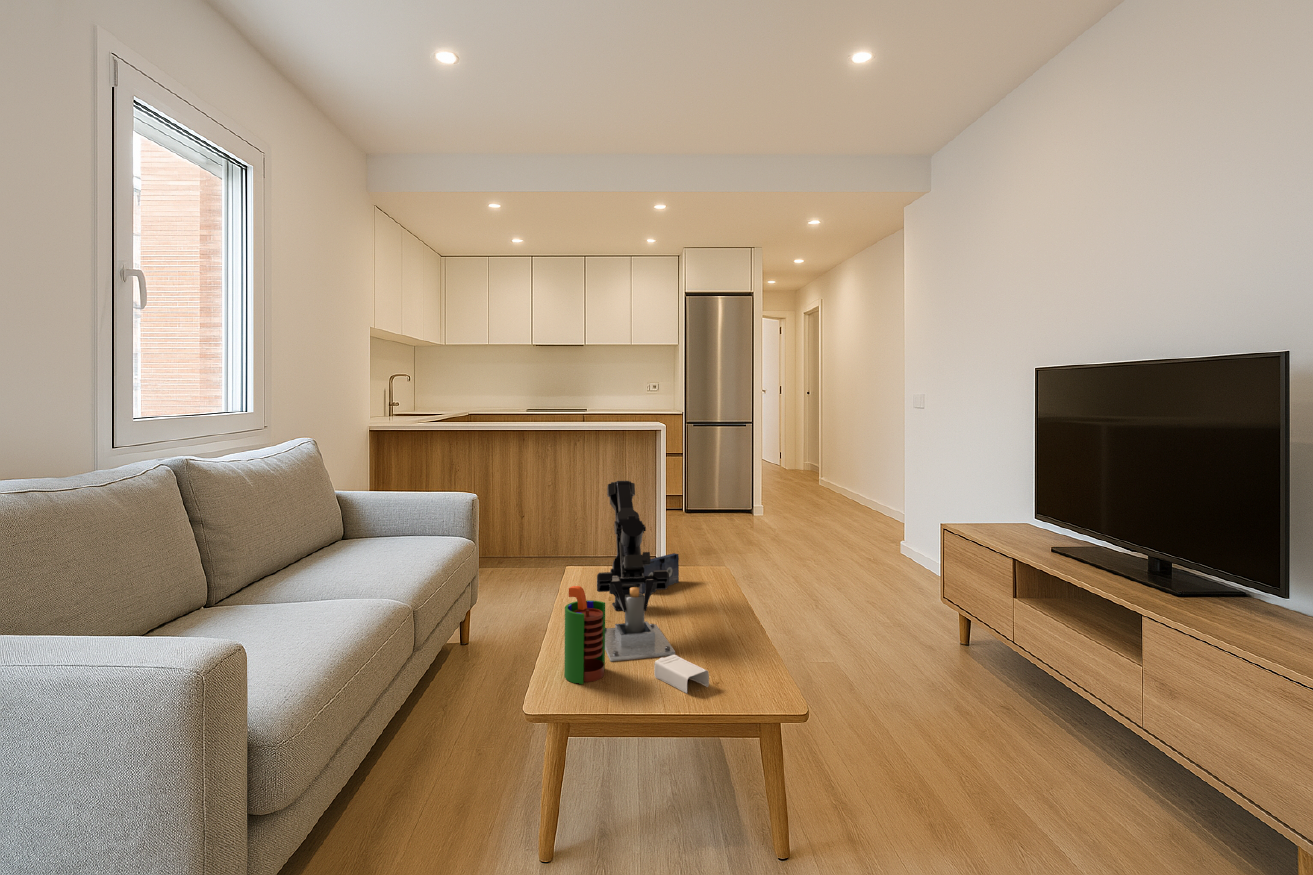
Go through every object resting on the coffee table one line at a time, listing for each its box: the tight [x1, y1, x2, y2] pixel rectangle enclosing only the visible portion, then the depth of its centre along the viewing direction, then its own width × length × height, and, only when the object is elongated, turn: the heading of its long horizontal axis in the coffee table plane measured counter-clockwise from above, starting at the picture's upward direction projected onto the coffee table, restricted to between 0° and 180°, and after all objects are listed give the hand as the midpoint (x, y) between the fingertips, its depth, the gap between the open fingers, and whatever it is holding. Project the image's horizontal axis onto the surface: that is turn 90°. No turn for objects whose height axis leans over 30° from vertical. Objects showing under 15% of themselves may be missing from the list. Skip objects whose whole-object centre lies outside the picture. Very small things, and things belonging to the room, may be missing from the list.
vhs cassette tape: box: [639, 552, 680, 595], centre depth 219 cm, size 18×3×10 cm, turn 136°
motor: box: [563, 585, 606, 685], centre depth 149 cm, size 10×9×20 cm
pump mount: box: [605, 621, 676, 662], centre depth 169 cm, size 20×16×4 cm
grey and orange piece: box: [624, 587, 645, 634], centre depth 168 cm, size 5×5×12 cm
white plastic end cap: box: [653, 654, 710, 694], centre depth 146 cm, size 6×13×4 cm, turn 39°
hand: (635, 610), depth 167 cm, fingers closed on grey and orange piece, 5 cm apart
